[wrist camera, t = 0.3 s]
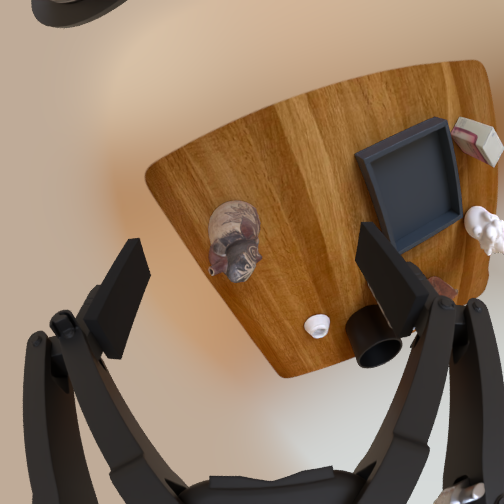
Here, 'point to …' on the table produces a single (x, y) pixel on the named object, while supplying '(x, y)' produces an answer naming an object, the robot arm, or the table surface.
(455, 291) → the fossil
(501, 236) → the figurine
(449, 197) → the tray
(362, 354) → the mug
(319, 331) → the lidless jar
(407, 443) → the robot arm
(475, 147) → the small box
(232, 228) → the figurine
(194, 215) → the table surface
